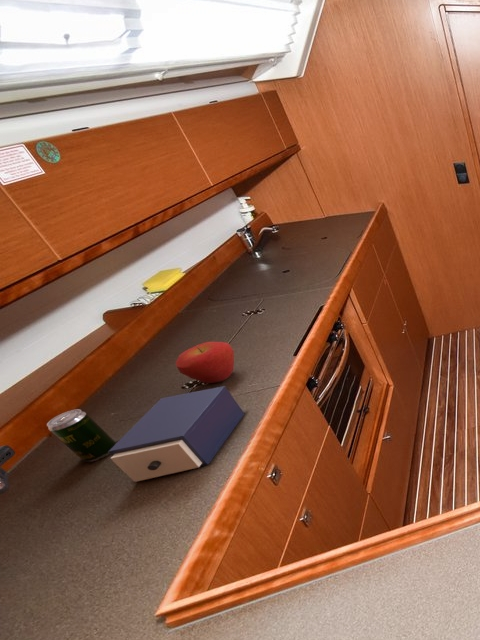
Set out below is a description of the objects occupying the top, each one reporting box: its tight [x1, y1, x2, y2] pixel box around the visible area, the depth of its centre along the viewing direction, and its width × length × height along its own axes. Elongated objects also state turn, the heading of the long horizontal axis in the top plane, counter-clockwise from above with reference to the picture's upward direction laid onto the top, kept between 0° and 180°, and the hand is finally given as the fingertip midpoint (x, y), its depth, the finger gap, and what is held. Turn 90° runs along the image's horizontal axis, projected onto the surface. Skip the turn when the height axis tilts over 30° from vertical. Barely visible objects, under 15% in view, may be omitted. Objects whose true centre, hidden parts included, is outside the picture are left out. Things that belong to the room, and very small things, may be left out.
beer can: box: [46, 408, 117, 463], centre depth 93 cm, size 5×5×12 cm
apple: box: [175, 341, 235, 384], centre depth 114 cm, size 11×11×12 cm
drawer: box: [110, 440, 202, 483], centre depth 93 cm, size 16×12×8 cm
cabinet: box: [108, 385, 245, 467], centre depth 95 cm, size 16×13×10 cm
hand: (5, 449), depth 67 cm, fingers closed
